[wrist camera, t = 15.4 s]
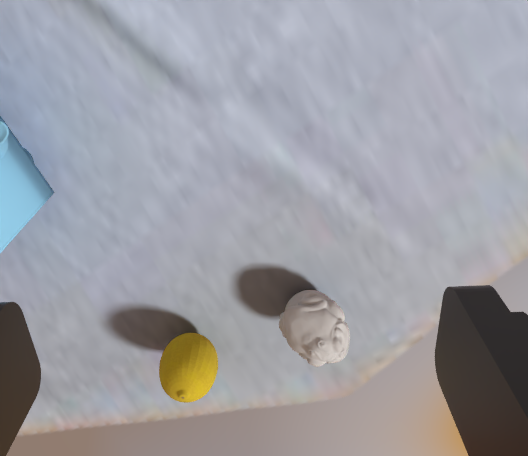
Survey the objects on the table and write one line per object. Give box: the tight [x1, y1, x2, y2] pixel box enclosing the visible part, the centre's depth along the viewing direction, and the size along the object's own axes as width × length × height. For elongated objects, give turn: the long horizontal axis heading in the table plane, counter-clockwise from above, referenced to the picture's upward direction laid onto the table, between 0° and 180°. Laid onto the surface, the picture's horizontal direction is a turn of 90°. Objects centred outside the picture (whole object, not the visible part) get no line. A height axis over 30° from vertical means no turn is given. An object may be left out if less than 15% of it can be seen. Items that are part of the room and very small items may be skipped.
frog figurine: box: [279, 290, 350, 367], centre depth 47 cm, size 6×7×7 cm
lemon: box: [159, 333, 218, 402], centre depth 49 cm, size 6×6×8 cm
